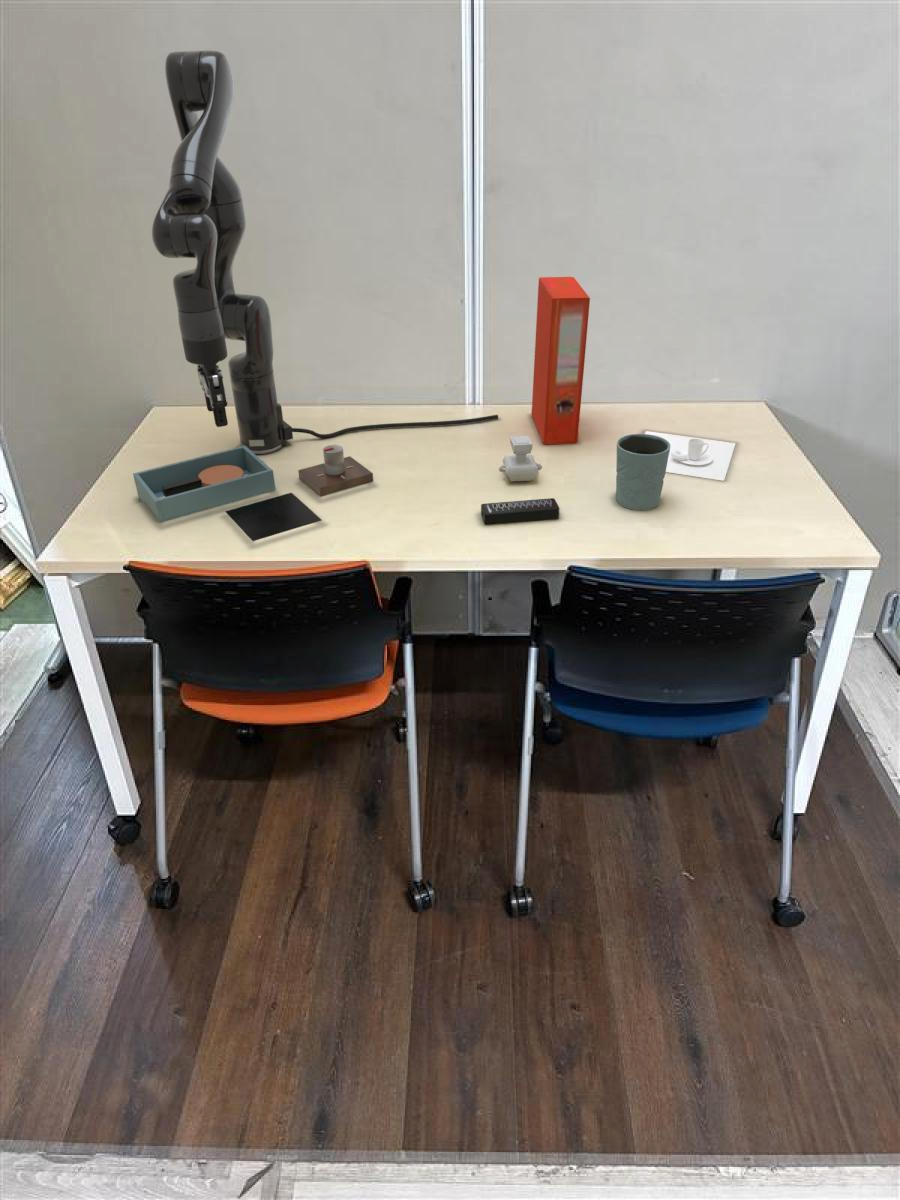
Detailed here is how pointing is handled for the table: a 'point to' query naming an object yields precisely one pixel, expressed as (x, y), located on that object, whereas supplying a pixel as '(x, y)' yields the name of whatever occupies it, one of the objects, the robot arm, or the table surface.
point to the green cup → (640, 470)
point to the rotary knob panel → (335, 477)
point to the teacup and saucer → (697, 456)
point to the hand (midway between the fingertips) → (217, 417)
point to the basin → (209, 495)
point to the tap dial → (334, 460)
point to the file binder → (559, 358)
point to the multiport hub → (519, 511)
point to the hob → (272, 516)
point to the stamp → (520, 461)
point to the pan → (204, 479)
